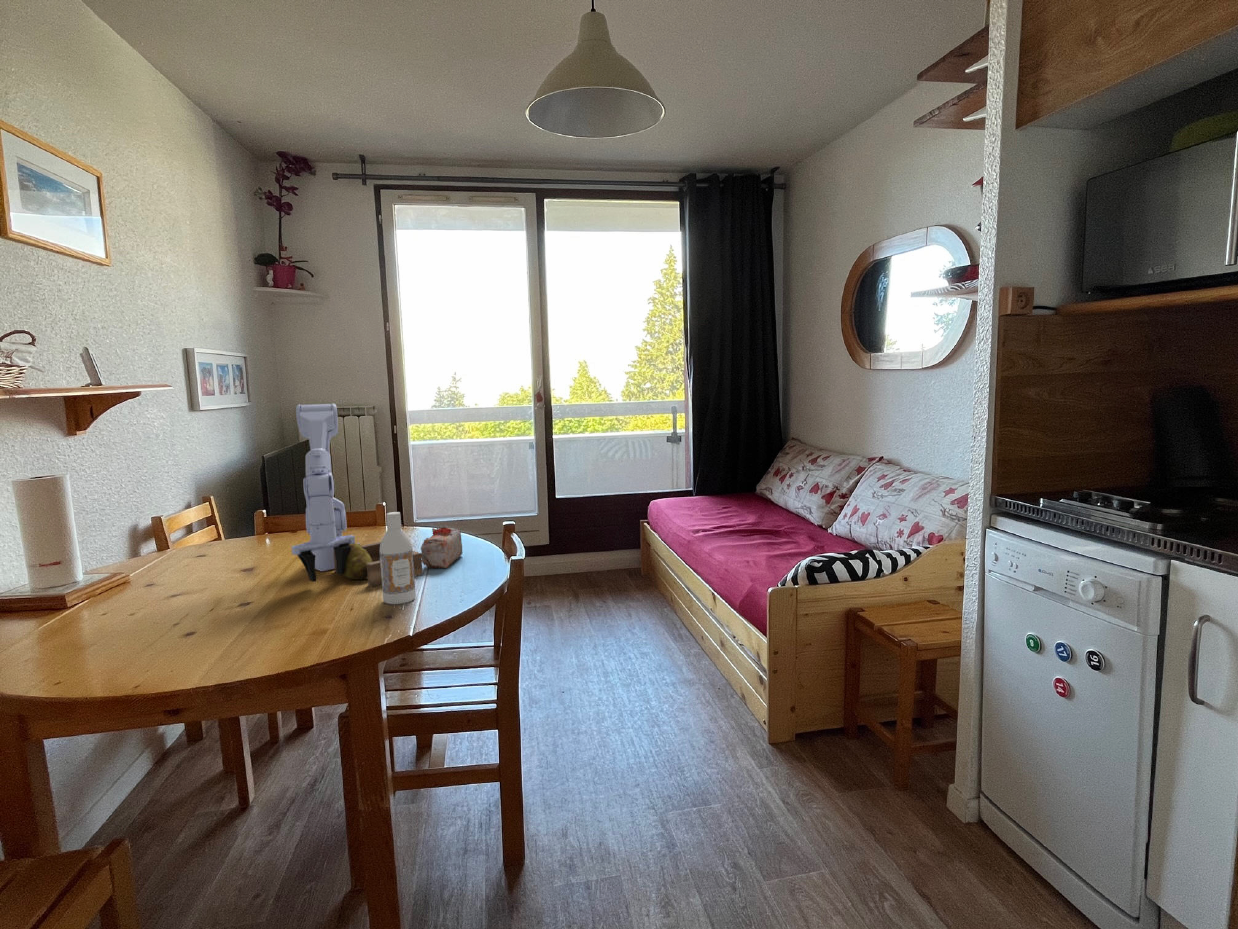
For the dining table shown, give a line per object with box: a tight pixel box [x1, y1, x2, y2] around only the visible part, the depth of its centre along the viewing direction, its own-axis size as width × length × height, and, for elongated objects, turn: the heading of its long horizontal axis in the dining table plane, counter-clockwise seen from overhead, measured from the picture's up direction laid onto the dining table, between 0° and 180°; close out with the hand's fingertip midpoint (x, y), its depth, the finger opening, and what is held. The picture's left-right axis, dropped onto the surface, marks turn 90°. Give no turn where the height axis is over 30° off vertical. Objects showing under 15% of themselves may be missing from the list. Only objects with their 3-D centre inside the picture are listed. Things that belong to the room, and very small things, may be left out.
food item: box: [420, 526, 463, 569], centre depth 176 cm, size 14×8×10 cm, turn 176°
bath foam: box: [380, 511, 416, 605], centre depth 145 cm, size 7×7×20 cm
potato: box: [344, 542, 373, 580], centre depth 165 cm, size 8×13×8 cm, turn 27°
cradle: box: [333, 541, 423, 588], centre depth 168 cm, size 21×14×6 cm, turn 47°
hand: (327, 577), depth 159 cm, fingers open, 6 cm apart
